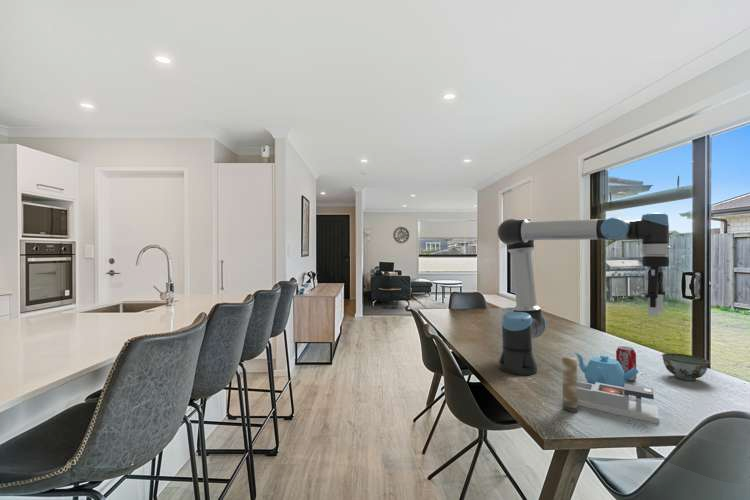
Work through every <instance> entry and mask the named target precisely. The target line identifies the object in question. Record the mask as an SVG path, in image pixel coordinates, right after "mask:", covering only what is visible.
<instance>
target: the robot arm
mask: <svg viewBox="0 0 750 500" xmlns="http://www.w3.org/2000/svg"><path fill="white" fill-rule="evenodd" d="M669 231H670V224H669V215H668V214H667V213H665V212H664V213H663V212H651V213H644V214H642V216H641V219H635V220H633V219H631V220H630V219H629V220H624V219H623V218H620V217H609V218H600V219H599V218H593V219H572V220H571V219H570V220H569V219H568V220H550V221H549V220H546V221H545V220H544V221H528V219H514V218H509V219H506V220H504V221H502V222H501V223H500V225H499V226H498V228H497V236H498V239H499V240H500V241H501V242H502V243H503V244H506V251H507V252H508V253H510V255H511V265H512V267H511V268H512V275H513V285H514V294H515V303H516V305H515V306H514V307H513V310H512V311H511V312H506V313H505V314H503V315H502V321H501V330H502V333H501V334H502V335H501V337H502V351H501V354H500V357H499V360H498V369H499V368H500V369H499V370H500V371H503V372H504V373H508V374H513V375H517V376H518V375H519V376H523V375H524V376H526V375H527V376H529V375H535V374H536V373H538V365H537V362H536V360H535V359H536V358H535V356H534V353H533V339H536V338H539V337H540V336H541V335H542V334H543V333H544V332H545V331H546V327H547V322H546V318H545V317H544V316H543V314H542V308H541V307H540V305H538V304H537V294H536V286H535V277H534V276H535V275H534V267H533V266H534V265H533V258H532V252H533V250H534V249H535V242H534V241H556V240H557V241H561V240H562V241H564V240H565V241H572V240H576V241H577V240H605V241H612V242H614V241H615V242H616V241H640V240H641V241H642V243H641V254H642V255H643V256H642V258H641V260H642V261H641V262H642V263H641V265H642V266H643V267H649V269H648V271H647V276H648V277H647V293H646V294H645V298H647V307H648V308H647V310H648V311H647V312H648V313H647V315H648V317H651V318H659V313H663V312H664V308H663V307H664V306H663V305H664V300H663V299H664V297H663V295H664V296H665V295H666V292H665V291H664V286H663V285H664V284H663V280H664V272H663V268H665V267H666V268H668V267H669V266H670V258H669V256H668V255H669V252H670V251H669V250H671V249H672V247H671V246H670V245H669V243H670V242H669V241H670V240H669V237H670V235H669V233H670V232H669Z"/></svg>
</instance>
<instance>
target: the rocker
mask: <svg viewBox="0 0 750 500" xmlns="http://www.w3.org/2000/svg"><path fill="white" fill-rule="evenodd" d="M623 387H624V394H627V395H629V396H632V397H636V396H637V397H641V398H642V399H643V398H644V399H649V400H654V399H655V398H654V397H655V394H654V388H652V387H647V386H642V385H637V384H630V383H625V384H624V386H623Z"/></svg>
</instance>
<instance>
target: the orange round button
mask: <svg viewBox="0 0 750 500" xmlns="http://www.w3.org/2000/svg"><path fill="white" fill-rule="evenodd" d="M602 391H604V392H609V393H614V394H619V395H620V392H619V391H617V390H614V389H610V388H604V389H602Z"/></svg>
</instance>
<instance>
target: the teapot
mask: <svg viewBox="0 0 750 500" xmlns="http://www.w3.org/2000/svg"><path fill="white" fill-rule="evenodd" d="M573 354H575V355H576V356H577V358H578V366H579V367H580V371H581V372H582V373H584V379H585V380H586V381H587V383H590V384H595V383H596V382H597V383H603V384H608V385H613V386H619V387H624V385H625V384H626V383H627V382H626V381H627V380H628V379H629V378H631V377H633V376H634V375H636V376H637V374H639V372H640V371H639V370H638V369H637V368H636V369H635V368H634V367H633V368H632V369H631V370H629V371H628V372H626V373H625V374H624V371H623V368H622V366H621V365H620V363H619V361H617V360H616V359H613V358H609V356H608V355H603V354H601V355H600V356H592V357H591V358H590V359H589V361H588V363H587V365H586V364H585V363H584V362H585V361H584V359H583V356H582V355H581V354H579V353H578V352H573Z"/></svg>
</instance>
